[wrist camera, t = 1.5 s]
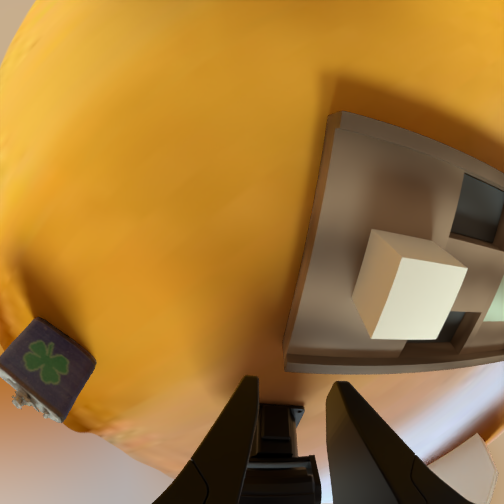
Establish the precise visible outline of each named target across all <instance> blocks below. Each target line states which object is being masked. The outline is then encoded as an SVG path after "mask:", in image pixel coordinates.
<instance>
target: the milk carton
mask: <svg viewBox="0 0 504 504" xmlns="http://www.w3.org/2000/svg"><path fill="white" fill-rule="evenodd" d="M427 467H428V468H429V469H430V470H431V471H433V472H434V473H435V474H436V475H437V476H438V477H439V478H440V479H442V480H443V481H444V482H445V483H446V484H448V485H449V486H450V487H451V488H453V489H454V490H455V491H456V492H458V493H459V494H460V495H462V496H463V497H464V498H465V499H467V500H468V501H470V502H472V503H475V504H490V502H491V499H492V496H493V492H494V489H495V485H496V481H497V478H498V471H497V468H496V466H495V463H494V461H493V459H492V456H491V454H490V452H489V450H488V447H487V445H486V443H485V441H484V440H483V439H482V438H481V436H480V435H479V434H478V433H476V434H475V435H473V436H472V437H471V438H469V439H468V440H467V441H465V442H464V443H462V444H461V445H459V446H458V447H457V448H455V449H454V450H452V451H450V452H449V453H447V454H446V455H444V456H443V457H441V458H439V459H438V460H436V461H434V462H433V463H431V464H429V465H428V466H427Z"/></svg>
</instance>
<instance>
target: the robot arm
mask: <svg viewBox="0 0 504 504" xmlns="http://www.w3.org/2000/svg"><path fill="white" fill-rule="evenodd" d="M304 411H305V410H304V407H303V406H288V405H272V404H260V403H259V378H258V377H257V376H250V375H245V376H244V377H243V378H242V380H241V382H240V383H239V385H238V387H237V388H236V390H235V391H234V393H233V395H232V396H231V398H230V399H229V401H228V403H227V404H226V406H225V407H224V409H223V410H222V412H221V414H220V415H219V417H218V418H217V420H216V421H215V423H214V424H213V426H212V427H211V429H210V430H209V432H208V433H207V435H206V436H205V438H204V439H203V441H202V442H201V444H200V445H199V447H198V448H197V450H196V451H195V453H194V454H193V456H192V457H191V460H189V461H188V463H187V464H186V465H185V467H184V468H183V470H182V471H181V472H180V473H179V475H178V476H177V477H176V479H175V480H174V481H173V482H172V484H171V485H170V486H169V487H168V488H167V489H166V490H165V491H164V492H163V493H162V494H161V495H160V496H159V497H158V498H157V499H156V500H155V501H154V502H153V503H152V504H321V483H320V478H319V473H318V469H317V464H316V460H315V455H309V456H304V457H298V449H297V435H296V428H297V426H298V424H299V422H300V420H301V418H302V416H303V414H304ZM326 444H327V453H328V461H329V469H330V477H331V486H332V495H333V504H475V503H472V502H470V501H468V500H467V499H465V498H464V497H463V496H462V495H460V494H459V493H458V492H456V491H455V490H454V489H453V488H451V487H450V486H449V485H448V484H446V483H445V482H444V481H443V480H442V479H440V478H439V477H438V476H437V475H436V474H435V473H434V472H433V471H431V470H430V469H429V468H428V467H427V466H426V465H425V464H424V463H423V462H422V460H421V459H420V458H419V457H418V456H417V455H415V453H414V452H413V451H412V450H411V449H410V448H409V447H408V446H407V445H406V444H405V443H404V441H403V440H402V439H401V438H400V437H399V436H398V435H397V434H396V433H395V432H394V431H393V430H392V429H391V427H390V426H389V425H388V424H387V423H386V422H385V421H384V420H383V419H382V418H381V417H380V416H379V414H378V413H377V412H376V411H375V410H374V409H373V408H372V407H371V406H370V405H369V404H368V402H367V401H366V400H365V399H364V398H363V397H362V396H361V395H360V394H359V393H358V392H357V390H356V389H355V388H354V387H353V386H352V385H351V384H350V383H349V382H347V381H336V382H335V383H334V384H333V386H332V388H331V390H330V392H329V394H328V396H327V399H326Z"/></svg>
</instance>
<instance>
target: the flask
mask: <svg viewBox="0 0 504 504" xmlns="http://www.w3.org/2000/svg"><path fill="white" fill-rule="evenodd" d="M95 365H96V360H95V359H94V358H93V356H92V355H91V354H90V353H89V352H88V351H86V350H85V349H84V348H82V347H81V346H80V345H79V344H78V343H76V342H75V341H74V340H73V339H71V338H69V337H68V336H67V335H65V334H63V333H62V332H61V331H60V330H58V329H57V328H56V327H54V326H53V325H52V324H50V323H48V322H47V321H46V320H44V319H41V318H39V317H37V318H35V319H33V321H32V322H31V323H30V324H29V325H28V326H27V327H26V328H25V330H24V331H23V332H22V333H21V334H20V335H19V336H18V337H17V338H16V339H15V340H14V341H13V342H12V343H11V345H10V346H9V347H8V348H7V349H6V350H5V352H4V353H3V354H2V355H1V356H0V377H1V378H3V380H5V381H6V382H7V383H8V384H10V385H11V386H12V387H13V388H14V389H16V390H17V391H15V393H16V397H14V396H12V398H14V400H13V401H12V402H13V404H14V405H15V406H16V407H17V408H20V409H21V406H23V405H28V406H33V407H34V408H35V409H36V410H37V411H38V412H39V410H38V409H40V411H41V412H42V413H44V415H43V417H44V418H50V419H52V420H54V421H56V422H59V423H62V422H64V419H66V417H67V415H68V413H69V411H70V410H71V408H72V406H73V404H74V402H75V400H76V398H77V397H78V395H79V393H80V392H81V390H82V389H83V387H84V385H85V383H86V382H87V381H88V379H89V377H90V375H91V374H92V373H93V371H94V369H95ZM37 408H38V409H37Z"/></svg>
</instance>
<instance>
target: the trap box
mask: <svg viewBox="0 0 504 504" xmlns="http://www.w3.org/2000/svg"><path fill="white" fill-rule="evenodd" d="M464 173H465V174H464ZM466 174H468V175H470V176H472V177H470V176H468V175H466ZM473 177H474V178H473ZM475 178H477V179H479V180H481V181H479V180H477V179H475ZM482 181H483V182H482ZM484 182H485V183H484ZM486 183H488V184H490V185H492V186H494V187H496V188H498V189H500V190H498V189H496V188H494V187H492V186H490V185H488V184H486ZM501 190H502V191H503V192H502V191H501ZM371 229H376V230H381V231H386V232H391V233H396V234H402V235H406V236H411V237H416V238H421V239H426V240H431V241H433V242H434V243H436V244H437V245H438V246H440V247H441V248H442V249H444V250H445V251H446V252H448V253H449V254H450V255H452V256H453V257H454V258H455V259H457V260H458V261H459V262H461V263H462V264H463V265H464V266H466V267H467V268H468V269H467V272H466V275H465V277H464V280H463V282H462V285H461V287H460V290H459V292H458V294H457V297H456V299H455V301H454V304H453V306H452V308H451V310H450V312H449V314H448V317H447V319H446V321H445V323H444V325H443V327H442V329H441V331H440V333H439V335H438V336H437V338H436V339H433V340H398V339H371V338H370V336H369V333H368V331H367V329H366V327H365V325H364V323H363V321H362V319H361V317H360V314H359V312H358V310H357V308H356V306H355V304H354V302H353V300H352V298H351V297H352V294H353V291H354V288H355V285H356V282H357V279H358V275H359V272H360V269H361V265H362V262H363V259H364V255H365V252H366V248H367V244H368V241H369V237H370V233H371ZM458 233H459V234H458ZM469 236H470V237H469ZM480 239H481V240H480ZM282 343H283V357H284V372H298V373H316V374H398V373H415V372H428V371H438V370H448V369H456V368H464V367H471V366H477V365H484V364H489V363H495V362H500V361H504V173H502V172H501V171H499V170H497V169H495V168H493V167H491V166H489V165H488V164H486V163H484V162H482V161H480V160H478V159H476V158H474V157H472V156H470V155H467V154H465V153H463V152H461V151H459V150H457V149H454V148H452V147H450V146H448V145H445V144H443V143H440V142H438V141H436V140H433V139H431V138H428V137H425V136H423V135H420V134H418V133H415V132H412V131H409V130H406V129H404V128H401V127H398V126H395V125H392V124H389V123H385V122H382V121H379V120H376V119H372V118H369V117H365V116H362V115H358V114H354V113H350V112H346V111H340V112H337V113H334V114H331V115H329V116H328V119H327V126H326V133H325V139H324V146H323V152H322V158H321V164H320V170H319V176H318V181H317V187H316V193H315V198H314V203H313V209H312V214H311V219H310V224H309V229H308V234H307V239H306V244H305V248H304V253H303V258H302V262H301V267H300V272H299V276H298V280H297V285H296V289H295V293H294V298H293V302H292V306H291V310H290V314H289V318H288V323H287V327H286V331H285V334H284V338H283V342H282Z"/></svg>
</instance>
